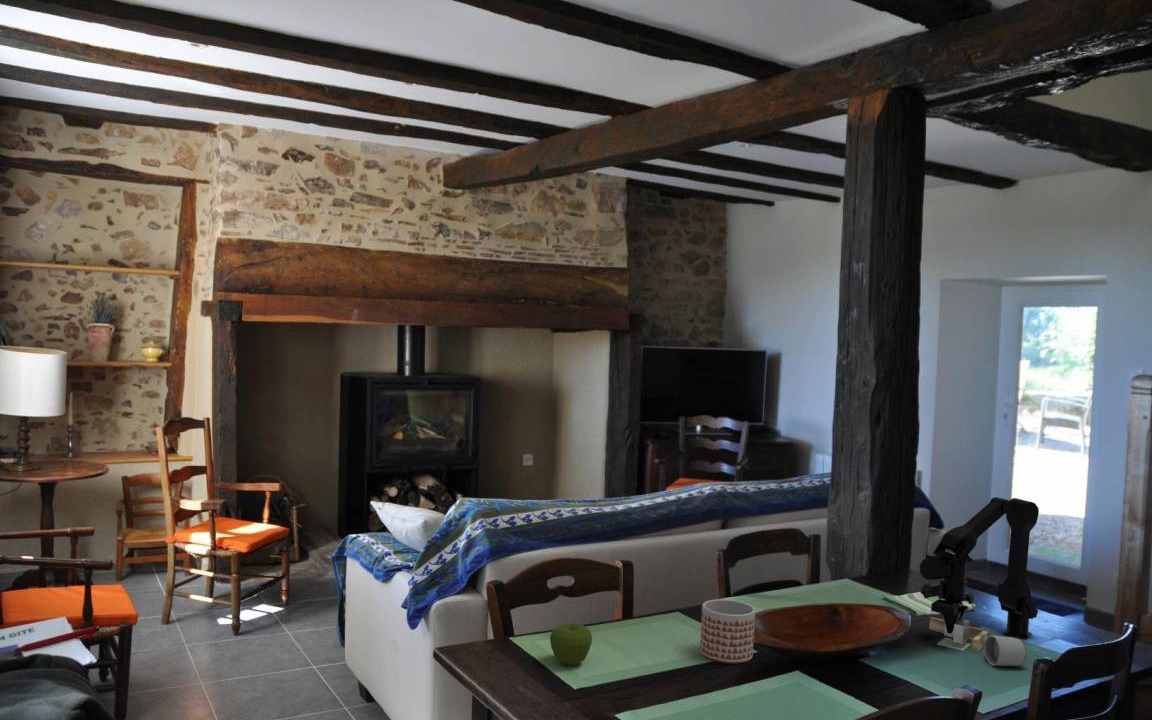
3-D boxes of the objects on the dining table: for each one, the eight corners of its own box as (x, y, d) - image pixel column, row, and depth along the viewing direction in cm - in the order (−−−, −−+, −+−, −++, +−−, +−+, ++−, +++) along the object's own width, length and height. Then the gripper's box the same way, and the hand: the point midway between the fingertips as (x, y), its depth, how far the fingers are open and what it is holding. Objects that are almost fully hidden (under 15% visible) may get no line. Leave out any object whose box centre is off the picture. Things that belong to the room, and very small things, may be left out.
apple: (570, 652, 235) (572, 614, 234) (600, 664, 227) (602, 625, 227) (539, 661, 227) (541, 622, 227) (569, 674, 220) (571, 634, 219)
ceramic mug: (1027, 670, 238) (1029, 641, 238) (998, 670, 237) (1000, 640, 237) (1004, 656, 248) (1006, 628, 248) (976, 655, 248) (977, 627, 247)
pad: (945, 638, 260) (945, 637, 260) (971, 645, 255) (971, 644, 255) (937, 644, 255) (937, 643, 254) (963, 651, 250) (963, 650, 250)
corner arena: (930, 628, 268) (931, 616, 268) (988, 643, 258) (989, 630, 258) (916, 637, 259) (917, 625, 259) (975, 653, 249) (976, 640, 249)
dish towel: (879, 600, 296) (880, 591, 296) (938, 596, 304) (938, 588, 304) (917, 617, 280) (917, 609, 280) (977, 613, 287) (978, 604, 287)
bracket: (968, 638, 255) (970, 621, 255) (962, 643, 251) (963, 626, 250) (947, 633, 259) (948, 615, 259) (939, 638, 255) (941, 620, 254)
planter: (762, 655, 239) (765, 608, 239) (733, 668, 229) (736, 618, 229) (719, 641, 248) (721, 595, 248) (689, 653, 238) (692, 605, 238)
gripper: (936, 565, 269) (933, 617, 270) (914, 577, 255) (910, 632, 255) (976, 573, 262) (972, 627, 262) (955, 586, 247) (951, 642, 248)
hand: (951, 632), depth 257 cm, fingers closed on bracket, 2 cm apart
